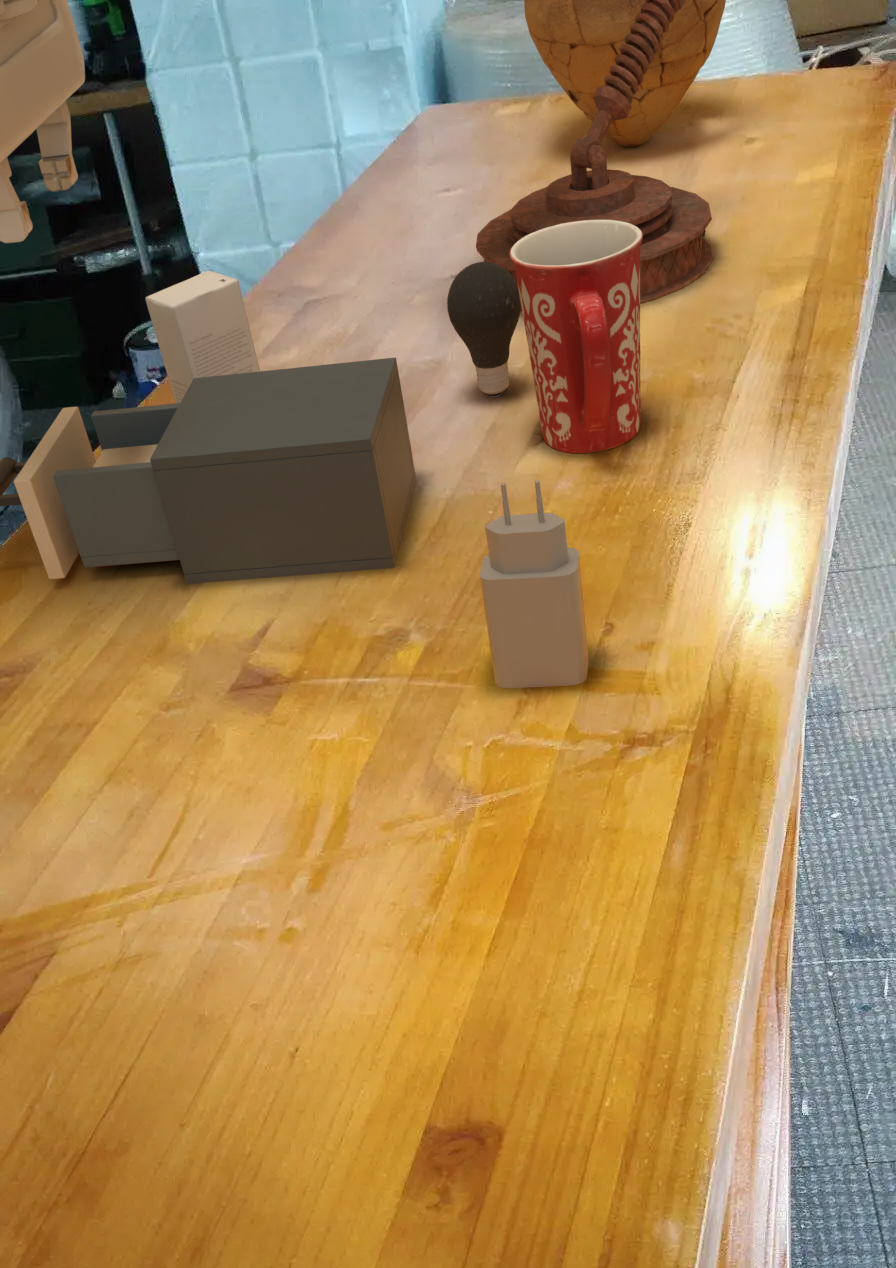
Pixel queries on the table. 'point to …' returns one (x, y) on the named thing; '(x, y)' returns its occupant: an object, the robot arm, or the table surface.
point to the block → (125, 455)
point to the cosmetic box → (202, 330)
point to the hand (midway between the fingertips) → (41, 212)
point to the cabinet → (288, 472)
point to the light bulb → (486, 320)
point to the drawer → (93, 492)
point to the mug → (583, 330)
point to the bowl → (590, 39)
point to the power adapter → (533, 600)
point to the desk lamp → (617, 183)
